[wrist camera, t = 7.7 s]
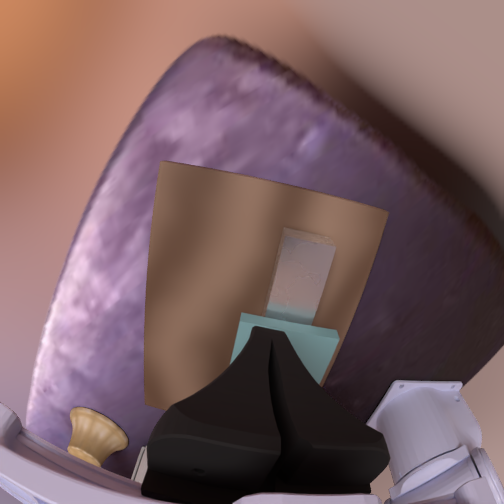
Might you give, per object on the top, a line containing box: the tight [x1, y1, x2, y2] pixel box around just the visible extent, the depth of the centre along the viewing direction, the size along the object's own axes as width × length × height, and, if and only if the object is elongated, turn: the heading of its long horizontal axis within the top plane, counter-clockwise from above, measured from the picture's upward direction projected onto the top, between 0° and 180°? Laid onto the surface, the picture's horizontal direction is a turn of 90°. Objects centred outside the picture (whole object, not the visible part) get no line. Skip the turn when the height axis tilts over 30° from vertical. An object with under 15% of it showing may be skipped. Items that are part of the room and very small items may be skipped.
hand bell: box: [68, 407, 128, 467], centre depth 22 cm, size 8×8×16 cm
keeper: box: [230, 312, 339, 384], centre depth 21 cm, size 6×12×4 cm, turn 168°
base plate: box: [144, 161, 389, 411], centre depth 22 cm, size 15×22×1 cm
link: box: [262, 227, 336, 326], centre depth 20 cm, size 12×4×2 cm, turn 169°
